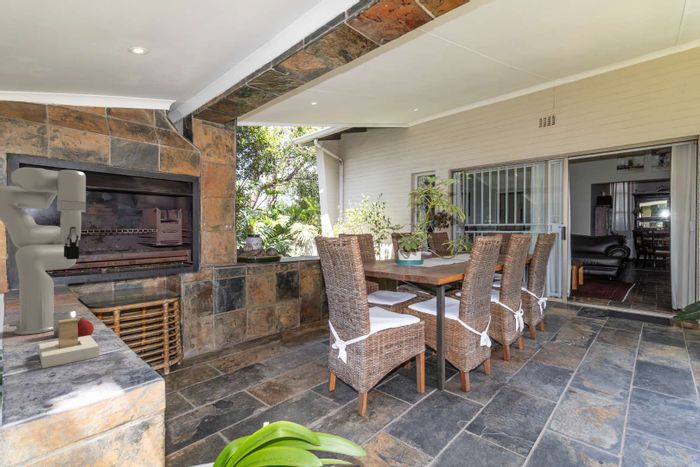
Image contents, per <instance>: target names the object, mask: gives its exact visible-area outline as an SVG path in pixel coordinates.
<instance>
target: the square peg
mask: <svg viewBox="0 0 700 467" xmlns="http://www.w3.org/2000/svg"><path fill="white" fill-rule="evenodd" d="M78 321H79V319H78V320H77V319H76V318H74V319H67V320H60V321H58V326H59V337H58V341H59V349H61V348H67V347H72V346H78Z"/></svg>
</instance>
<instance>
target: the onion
mask: <svg viewBox="0 0 700 467" xmlns="http://www.w3.org/2000/svg"><path fill="white" fill-rule="evenodd" d="M94 328H95V327H94V324H93V323H92V322H91V321H89V320H88V319H86V317H85V316H81V317H80V319H78V337H83V336H89V335H90V336H92V334H93V333H94V330H95V329H94Z"/></svg>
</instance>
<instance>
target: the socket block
mask: <svg viewBox="0 0 700 467" xmlns="http://www.w3.org/2000/svg"><path fill="white" fill-rule="evenodd" d="M38 356H39V359H40V364H41V367H42V369H47V368H50V367H55V366H56V367H57V366H60V365H61V366H62V365H66V364H70V363H74V362H80V361H84V360H89V359H93V358H98V357H100V345H99V344H98V343H97V342H96V340H94V338H93V337H92V335H89V336H83V337H78V346H72V347H67V348H61V349H59V340H54V341H53V340H52V341H48V342H42V343H38Z"/></svg>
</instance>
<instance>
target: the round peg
mask: <svg viewBox="0 0 700 467" xmlns="http://www.w3.org/2000/svg"><path fill="white" fill-rule="evenodd" d="M53 318H54V330H53V337H54V338H59V326H58V321H60V320H67V319H74V318H76V319H77V320H78V321H79V319H78V318H79V317H78V309H67V310H66V309H65V310H59V311H54V313H53Z"/></svg>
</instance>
